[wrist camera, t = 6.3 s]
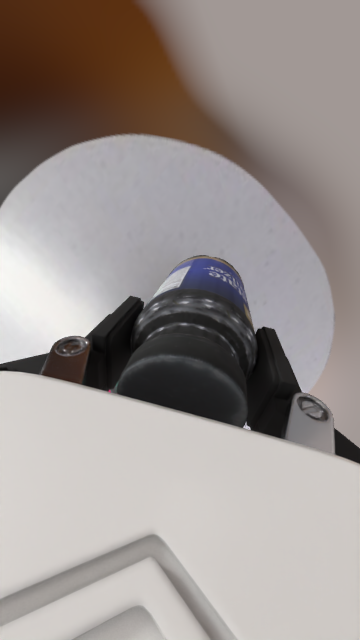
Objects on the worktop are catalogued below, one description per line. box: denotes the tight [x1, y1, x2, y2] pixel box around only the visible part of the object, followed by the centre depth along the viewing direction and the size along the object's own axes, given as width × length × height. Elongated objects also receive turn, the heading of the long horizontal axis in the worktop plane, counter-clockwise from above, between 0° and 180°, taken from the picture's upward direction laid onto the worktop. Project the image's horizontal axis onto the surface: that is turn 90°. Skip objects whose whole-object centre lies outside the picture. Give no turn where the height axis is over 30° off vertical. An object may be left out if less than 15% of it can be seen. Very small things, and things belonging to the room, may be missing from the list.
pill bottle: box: [117, 255, 258, 428], centre depth 12 cm, size 6×6×11 cm
